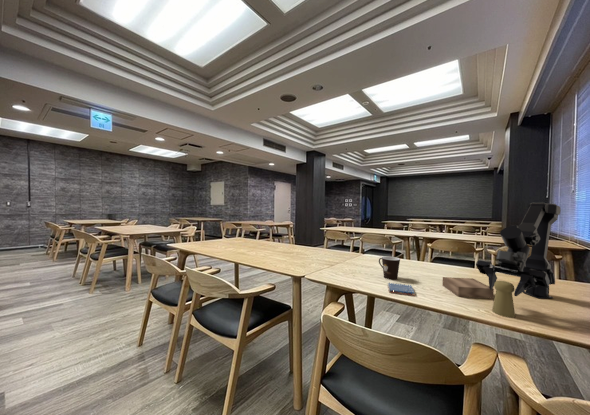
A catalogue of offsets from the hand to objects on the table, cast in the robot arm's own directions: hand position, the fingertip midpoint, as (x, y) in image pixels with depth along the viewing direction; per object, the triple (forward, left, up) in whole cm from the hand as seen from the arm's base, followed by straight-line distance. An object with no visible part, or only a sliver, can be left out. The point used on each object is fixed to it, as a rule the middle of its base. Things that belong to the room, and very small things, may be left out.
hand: (502, 292), depth 80 cm
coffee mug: (+22, -41, -8) cm, 47 cm away
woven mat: (+25, -22, -8) cm, 34 cm away
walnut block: (-3, -21, -8) cm, 22 cm away
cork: (-1, -1, -8) cm, 8 cm away
